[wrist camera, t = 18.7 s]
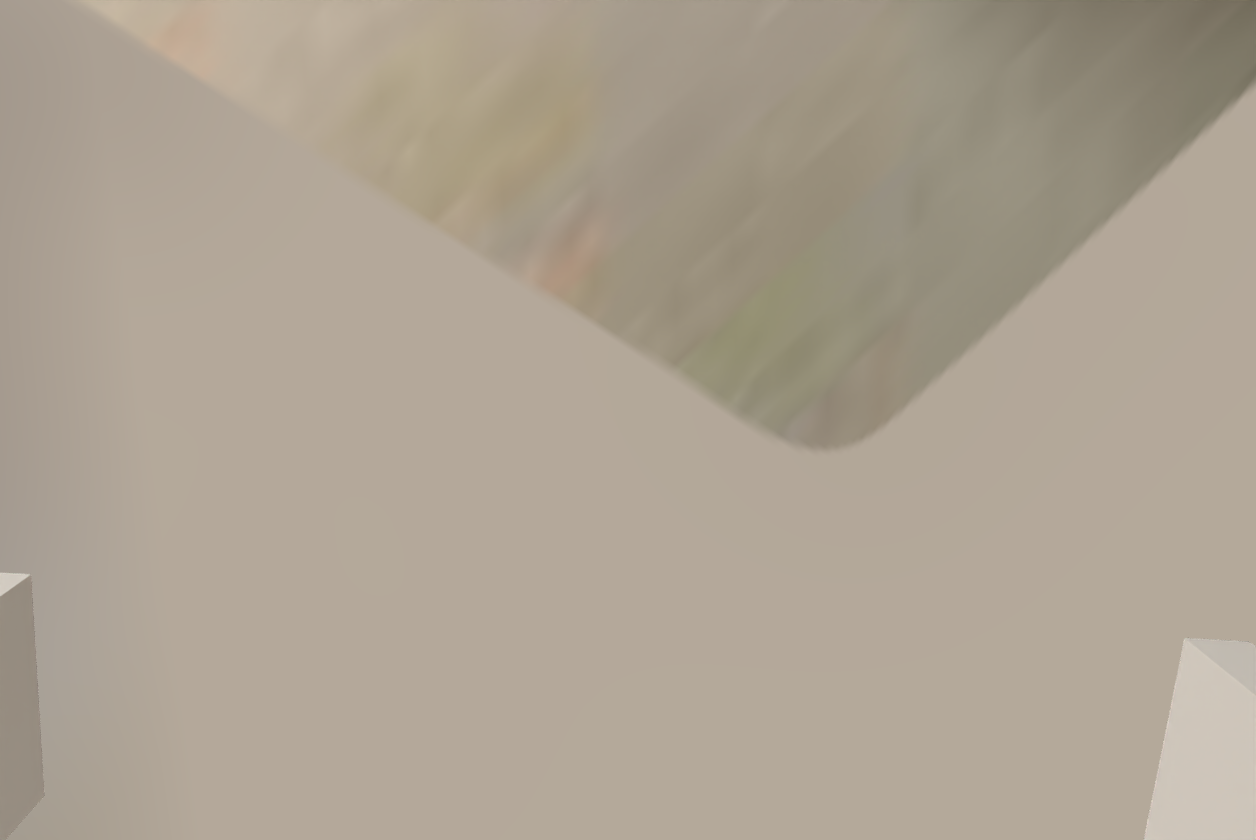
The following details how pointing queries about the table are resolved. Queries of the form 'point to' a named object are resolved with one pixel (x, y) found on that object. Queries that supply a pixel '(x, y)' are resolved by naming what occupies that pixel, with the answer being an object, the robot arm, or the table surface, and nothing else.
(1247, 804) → the robot arm
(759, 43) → the table surface
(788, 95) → the table surface
